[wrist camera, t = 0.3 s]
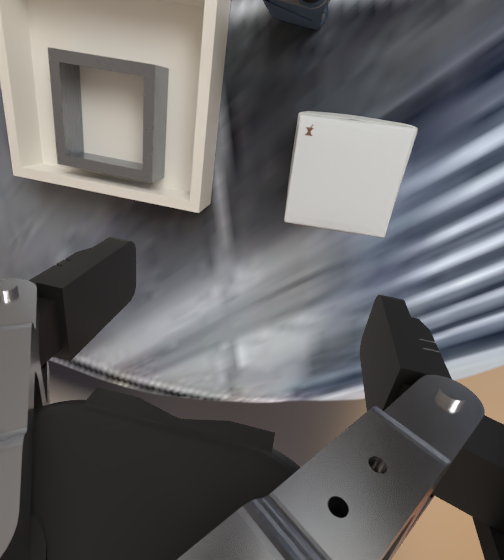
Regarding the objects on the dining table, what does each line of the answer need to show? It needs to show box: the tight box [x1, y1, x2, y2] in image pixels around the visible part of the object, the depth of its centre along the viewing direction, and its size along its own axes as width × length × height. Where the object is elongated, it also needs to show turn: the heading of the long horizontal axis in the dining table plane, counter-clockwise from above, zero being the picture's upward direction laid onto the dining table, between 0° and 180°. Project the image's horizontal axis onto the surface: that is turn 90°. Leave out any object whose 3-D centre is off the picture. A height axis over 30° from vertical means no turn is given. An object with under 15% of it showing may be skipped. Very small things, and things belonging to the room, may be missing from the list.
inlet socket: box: [48, 47, 169, 183], centre depth 35 cm, size 10×10×3 cm
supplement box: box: [284, 111, 417, 238], centre depth 29 cm, size 7×7×13 cm
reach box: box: [0, 0, 231, 213], centre depth 34 cm, size 18×20×4 cm
